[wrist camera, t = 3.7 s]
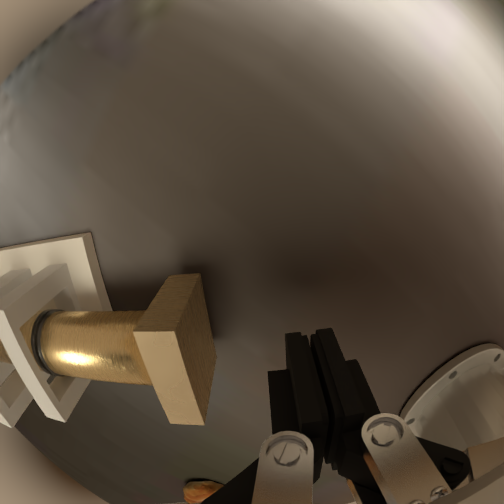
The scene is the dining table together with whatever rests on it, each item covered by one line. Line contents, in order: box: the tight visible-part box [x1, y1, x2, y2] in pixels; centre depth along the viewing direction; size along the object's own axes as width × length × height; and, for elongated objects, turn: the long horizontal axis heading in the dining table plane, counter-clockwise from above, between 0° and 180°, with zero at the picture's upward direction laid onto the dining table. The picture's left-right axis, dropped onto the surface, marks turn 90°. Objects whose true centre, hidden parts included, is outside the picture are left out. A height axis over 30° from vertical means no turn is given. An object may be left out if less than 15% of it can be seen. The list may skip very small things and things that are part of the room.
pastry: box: [183, 481, 224, 504], centre depth 24 cm, size 9×7×4 cm
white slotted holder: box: [0, 232, 112, 428], centre depth 13 cm, size 13×10×9 cm
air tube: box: [0, 273, 217, 425], centre depth 13 cm, size 16×5×5 cm, turn 96°
